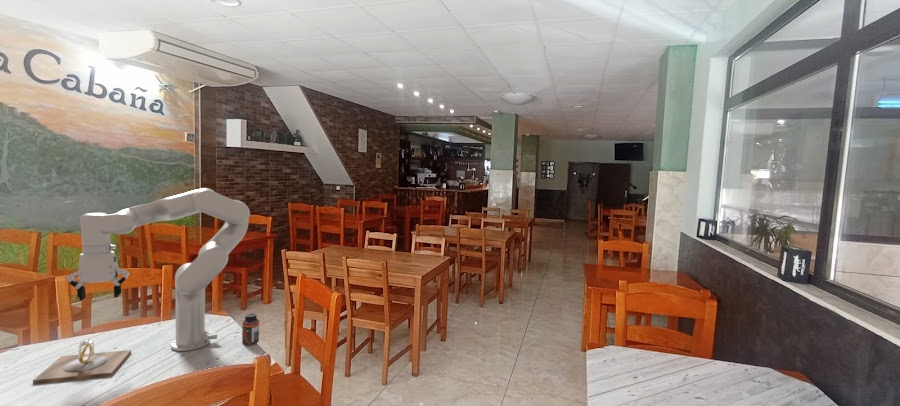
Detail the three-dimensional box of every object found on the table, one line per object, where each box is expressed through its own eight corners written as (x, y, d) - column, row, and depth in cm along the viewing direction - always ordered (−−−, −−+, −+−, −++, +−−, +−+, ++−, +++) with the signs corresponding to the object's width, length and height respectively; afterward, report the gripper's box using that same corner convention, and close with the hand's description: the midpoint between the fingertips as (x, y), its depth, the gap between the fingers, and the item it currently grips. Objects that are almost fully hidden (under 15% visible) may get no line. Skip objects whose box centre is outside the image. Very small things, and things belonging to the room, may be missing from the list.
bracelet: (85, 367, 138) (84, 344, 137) (73, 368, 137) (73, 344, 136) (98, 358, 144) (98, 335, 144) (88, 358, 144) (87, 335, 143)
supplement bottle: (238, 343, 164) (238, 315, 163) (251, 338, 170) (251, 311, 169) (250, 347, 162) (250, 318, 161) (262, 341, 168) (262, 313, 167)
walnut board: (131, 353, 152) (131, 349, 152) (111, 376, 136) (111, 371, 136) (61, 359, 145) (61, 355, 145) (32, 384, 129) (32, 379, 129)
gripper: (131, 245, 150) (133, 292, 152) (69, 248, 144) (73, 296, 145) (124, 249, 143) (127, 298, 145) (59, 253, 137) (63, 304, 138)
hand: (100, 297), depth 145 cm, fingers open, 9 cm apart
